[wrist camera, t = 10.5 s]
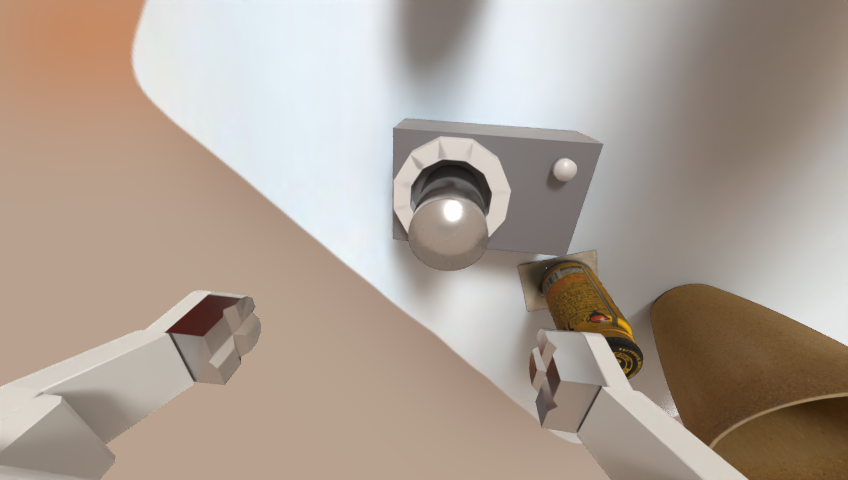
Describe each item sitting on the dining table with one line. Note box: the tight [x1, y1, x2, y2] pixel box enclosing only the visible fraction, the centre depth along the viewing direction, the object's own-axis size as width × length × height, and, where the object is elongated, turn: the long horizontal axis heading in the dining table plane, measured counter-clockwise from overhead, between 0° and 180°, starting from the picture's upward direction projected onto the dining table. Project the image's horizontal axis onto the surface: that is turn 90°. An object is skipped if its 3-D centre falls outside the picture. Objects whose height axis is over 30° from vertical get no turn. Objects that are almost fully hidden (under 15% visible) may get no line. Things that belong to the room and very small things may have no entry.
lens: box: [408, 165, 489, 271], centre depth 22 cm, size 5×5×8 cm
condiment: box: [518, 250, 643, 379], centre depth 31 cm, size 7×8×12 cm
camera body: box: [393, 119, 603, 256], centre depth 27 cm, size 16×10×8 cm, turn 87°
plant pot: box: [651, 284, 848, 480], centre depth 29 cm, size 15×15×16 cm
